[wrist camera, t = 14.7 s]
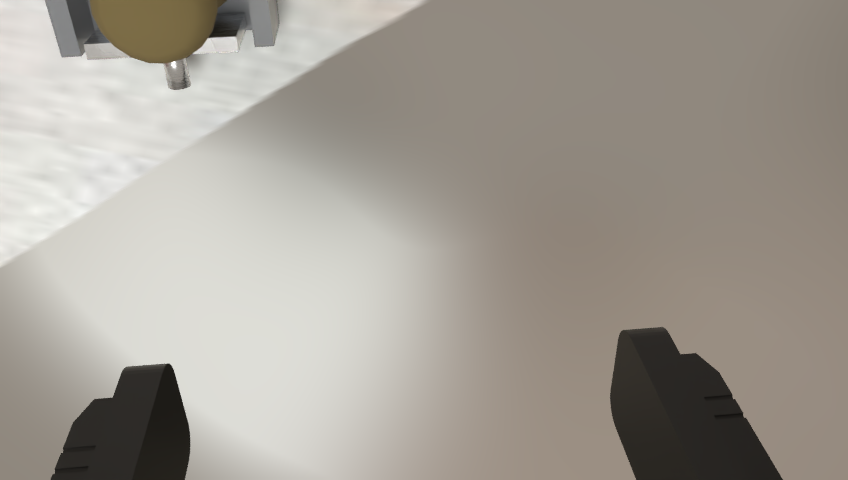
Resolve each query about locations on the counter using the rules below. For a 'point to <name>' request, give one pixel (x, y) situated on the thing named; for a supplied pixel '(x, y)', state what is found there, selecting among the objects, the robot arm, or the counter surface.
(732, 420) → the robot arm
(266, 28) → the tray
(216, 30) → the pusher
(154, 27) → the cork
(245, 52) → the counter surface
